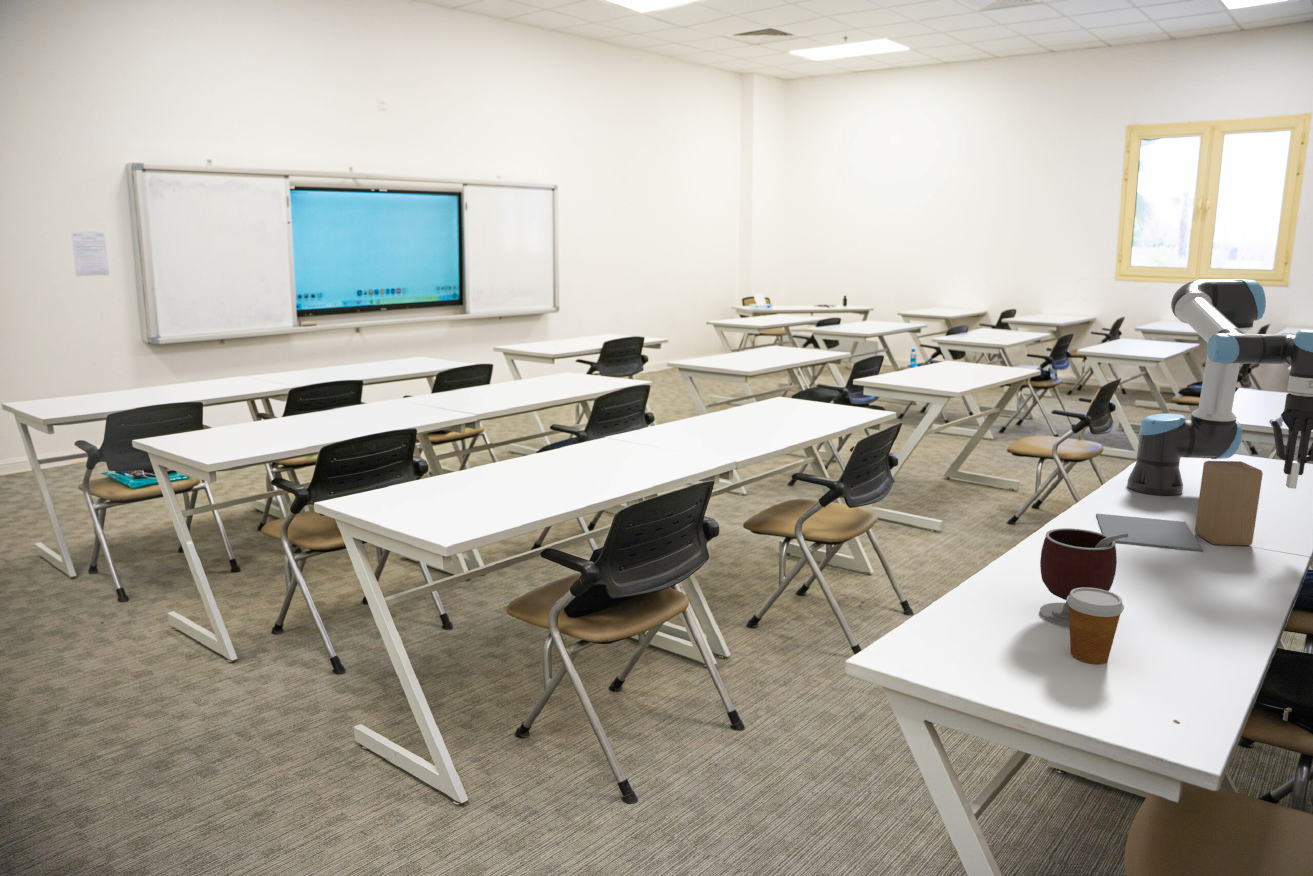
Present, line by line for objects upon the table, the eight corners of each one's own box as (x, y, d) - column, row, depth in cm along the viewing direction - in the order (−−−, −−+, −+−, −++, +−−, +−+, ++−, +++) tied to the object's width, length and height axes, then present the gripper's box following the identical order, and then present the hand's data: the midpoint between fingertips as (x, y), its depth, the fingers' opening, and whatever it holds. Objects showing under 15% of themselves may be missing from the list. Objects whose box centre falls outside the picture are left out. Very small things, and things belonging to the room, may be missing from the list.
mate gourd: (1025, 618, 182) (1033, 525, 178) (1049, 598, 192) (1058, 510, 188) (1105, 640, 172) (1117, 542, 167) (1127, 618, 182) (1138, 525, 177)
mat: (1096, 515, 250) (1096, 513, 250) (1185, 523, 242) (1185, 521, 242) (1104, 541, 228) (1105, 539, 228) (1203, 551, 221) (1203, 549, 220)
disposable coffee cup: (1051, 646, 169) (1057, 587, 167) (1099, 644, 170) (1105, 585, 167) (1078, 669, 160) (1085, 607, 157) (1129, 667, 161) (1136, 605, 158)
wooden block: (1232, 534, 234) (1243, 460, 229) (1253, 546, 224) (1265, 470, 220) (1192, 533, 235) (1202, 459, 230) (1211, 545, 225) (1222, 469, 221)
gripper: (1278, 394, 215) (1264, 488, 220) (1343, 397, 211) (1327, 493, 216) (1269, 390, 222) (1256, 481, 227) (1332, 392, 217) (1317, 485, 223)
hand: (1290, 487), depth 221 cm, fingers closed
